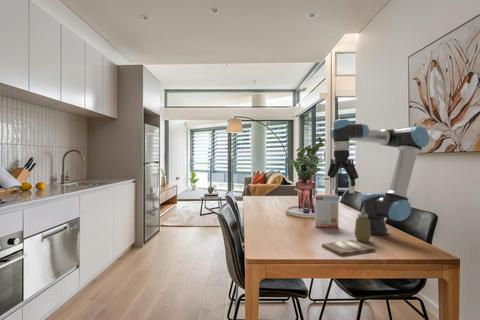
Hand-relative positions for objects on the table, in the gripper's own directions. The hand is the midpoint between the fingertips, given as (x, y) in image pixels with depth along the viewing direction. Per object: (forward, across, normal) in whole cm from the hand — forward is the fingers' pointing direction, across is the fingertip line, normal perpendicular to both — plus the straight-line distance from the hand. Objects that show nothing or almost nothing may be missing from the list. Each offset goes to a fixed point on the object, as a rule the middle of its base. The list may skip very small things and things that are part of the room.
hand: (342, 191), depth 145 cm
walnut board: (+27, +7, -4) cm, 28 cm away
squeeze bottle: (+28, -1, +14) cm, 31 cm away
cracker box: (+28, -33, +15) cm, 46 cm away
